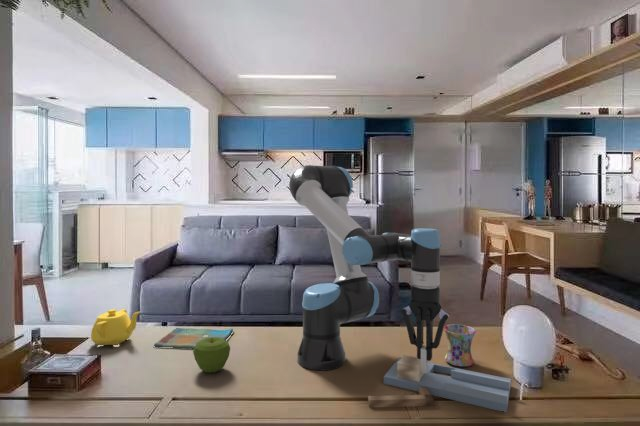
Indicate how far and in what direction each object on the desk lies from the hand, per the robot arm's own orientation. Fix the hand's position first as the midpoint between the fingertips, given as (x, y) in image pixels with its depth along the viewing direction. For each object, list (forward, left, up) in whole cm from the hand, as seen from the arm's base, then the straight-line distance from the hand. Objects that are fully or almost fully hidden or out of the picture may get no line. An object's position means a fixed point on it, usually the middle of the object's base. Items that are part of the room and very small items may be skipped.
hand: (424, 370), depth 111 cm
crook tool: (-4, -11, -4) cm, 13 cm away
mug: (+5, +21, -4) cm, 22 cm away
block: (-4, 0, -2) cm, 4 cm away
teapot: (-103, -20, -4) cm, 105 cm away
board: (+5, +3, -4) cm, 7 cm away
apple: (-58, -21, -4) cm, 61 cm away
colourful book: (-81, -5, -5) cm, 81 cm away
